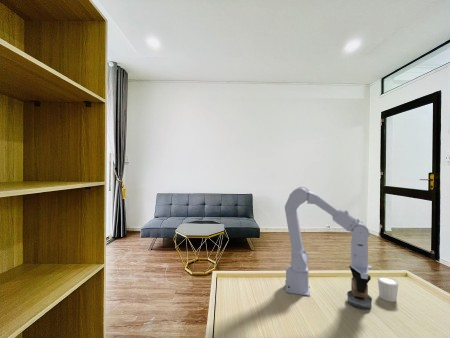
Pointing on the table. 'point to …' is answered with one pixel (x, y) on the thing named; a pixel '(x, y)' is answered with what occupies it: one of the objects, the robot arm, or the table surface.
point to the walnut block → (354, 289)
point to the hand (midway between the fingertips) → (359, 288)
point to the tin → (359, 301)
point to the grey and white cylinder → (388, 288)
